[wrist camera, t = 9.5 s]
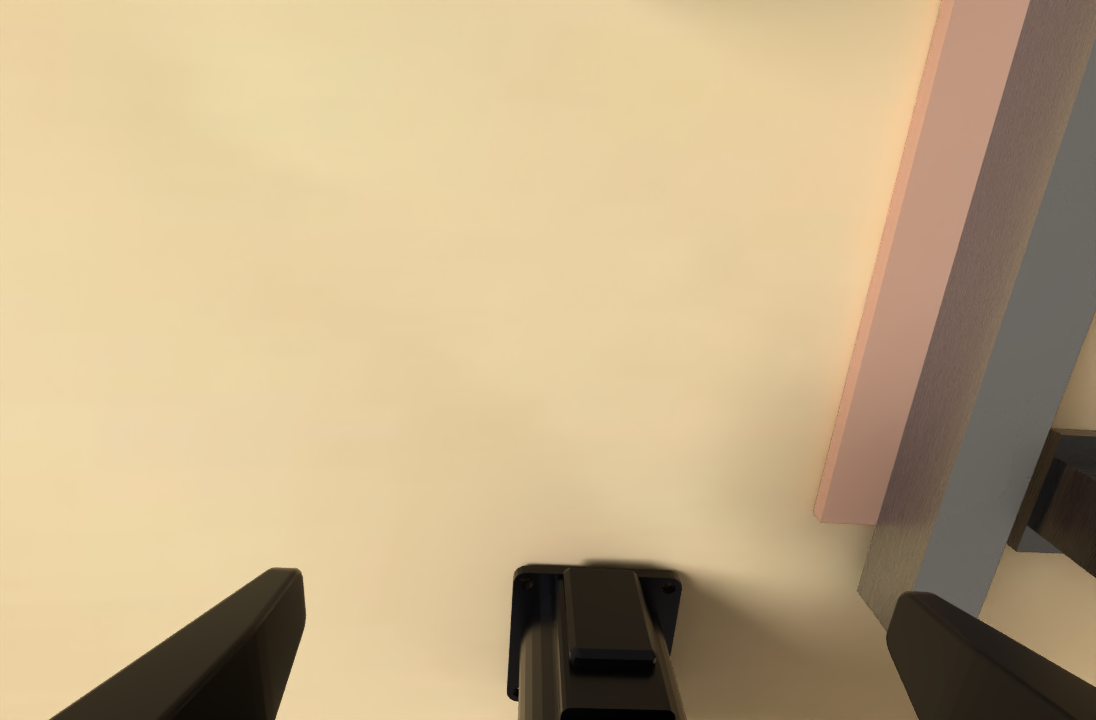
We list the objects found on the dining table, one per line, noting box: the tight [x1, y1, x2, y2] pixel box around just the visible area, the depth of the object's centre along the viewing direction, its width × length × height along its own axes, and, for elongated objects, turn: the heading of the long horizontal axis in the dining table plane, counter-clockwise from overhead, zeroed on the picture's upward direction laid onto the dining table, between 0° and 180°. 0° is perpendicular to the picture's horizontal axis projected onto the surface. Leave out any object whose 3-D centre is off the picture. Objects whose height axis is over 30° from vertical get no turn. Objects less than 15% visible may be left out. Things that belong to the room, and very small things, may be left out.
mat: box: [813, 0, 1030, 525], centre depth 19 cm, size 24×7×1 cm, turn 176°
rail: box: [857, 0, 1096, 631], centre depth 18 cm, size 26×3×3 cm, turn 176°
